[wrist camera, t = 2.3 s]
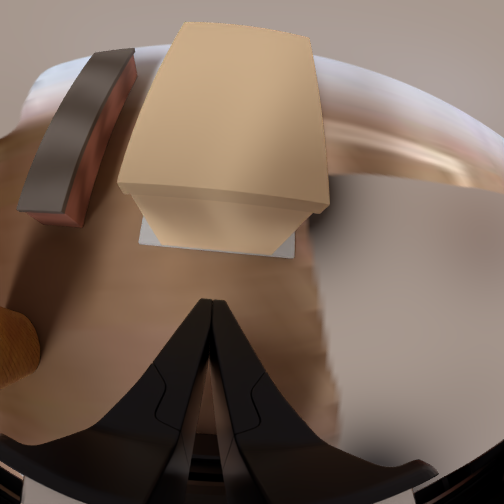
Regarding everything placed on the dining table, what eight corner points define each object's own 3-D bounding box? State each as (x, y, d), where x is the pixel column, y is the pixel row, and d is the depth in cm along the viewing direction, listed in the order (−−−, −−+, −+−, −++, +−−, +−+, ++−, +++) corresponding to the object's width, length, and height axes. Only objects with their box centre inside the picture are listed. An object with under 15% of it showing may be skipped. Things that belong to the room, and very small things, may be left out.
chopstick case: (83, 229, 21) (61, 211, 16) (41, 226, 20) (16, 209, 16) (139, 75, 26) (134, 47, 21) (102, 78, 25) (94, 52, 21)
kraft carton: (273, 257, 22) (329, 204, 12) (158, 246, 21) (116, 182, 10) (277, 122, 26) (309, 37, 15) (187, 112, 25) (184, 22, 14)
